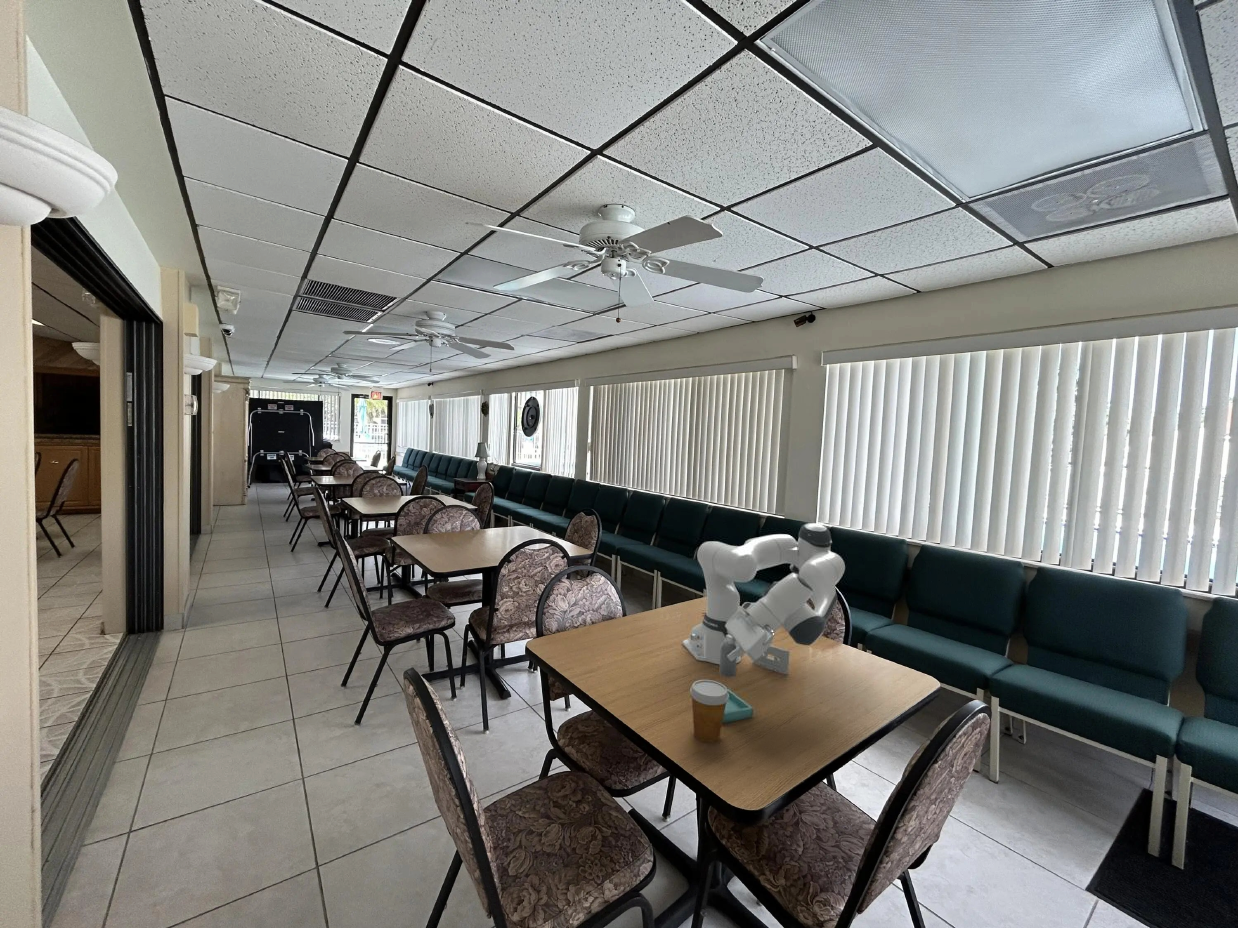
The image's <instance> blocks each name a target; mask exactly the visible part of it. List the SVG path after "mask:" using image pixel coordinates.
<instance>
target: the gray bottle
mask: <svg viewBox="0 0 1238 928" xmlns="http://www.w3.org/2000/svg"><path fill="white" fill-rule="evenodd" d="M735 649H737V648H736V646H735V644H734V643H733V637H732V636H730V635H726V642H724V643H723V644H722V646H721V651H720V664H719V672H718V673H719V674H720V675H721V676H723V677H726V678H727V677H729V678H731V677H735V676H736V675H737V663H736V660H737V657H736V658H735V659H734V660H733V661H730V660H729V659H728V657H727V656H726V654H727V653H728V652H729V651H733V650H735Z"/></svg>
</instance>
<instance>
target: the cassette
mask: <svg viewBox="0 0 1238 928" xmlns="http://www.w3.org/2000/svg"><path fill="white" fill-rule="evenodd" d="M768 655H770V656H768ZM771 656H773V657H771ZM752 664H754V665H757V666H758V667H761V668H764V669H767V670H770V671H774V672H776V673H779V674H784V675H788V674H789V666H790V651H789V650H788V649H784V648H781V647H778V646H775V645H772V644H771V645H770V646H769V647H768V649H767V650H766V651H765V652H764V653H763V654H762V655H761V656H760V657H759V658H758V659H756V660H752Z"/></svg>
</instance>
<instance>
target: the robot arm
mask: <svg viewBox="0 0 1238 928" xmlns="http://www.w3.org/2000/svg"><path fill="white" fill-rule="evenodd" d="M832 544H833V541H832V537H831V532H830V529H828V528H827V527H826V526H825V525H822V524H820V523H814V522H811V523H805V524H804V525H801V527H800V530H799V532H798V540H796V539H795V538H794V537H793V536H791V535H790V534H787V533H786V534H783V533H778V534H777V533H776V534H767V535H763V536H762V535H761V536H759V537H753V538H749V539H747V540H745V542H744V544H743V545H739V546H738V545H730V544H728V543H724V542H721V541H715V540H713V541H704V542H703V543H702V544H700V546H699V547H698V550H697V554H696V557H697V561H698V563H699V565H700V567H701V570H702V572H703V577H704V581H705V588H706V608H705V609H706V611H705V612H703V613H701V617H703V619H702V621H701V623H698V625H696V626H693V627H692V628H691V630H690V634H689V638H686V639H684V640H683V641H682V645H683V646H684V647H685V648H686V650H687V651H688V652H689V653H690V654H691V655H692V656H693V657H694V658H695V660H697V661H701V662H708V663H712V664H715V665H716V664H717V665H720V651H721V646H722V644H723V643H724V642H726V635H730V636H732V637H733V643H734V644H735V646H736V648H737V649H735V650H733V651H729V652H728V653H727V654H726V656H727V657H728V659H729V660H730V661H733V660H734V659H735V658H736V657H737V660H736V664H738V663H739V662H741V661H742V658H741V657H742V656H744V655H745V654H746V655H747V656H748V657H749V659H751V660H752V661H753V660H756V659H758V658H759V657H760V656H761V655H762V654H764V652H765V651H766V650H767V649H768V647H769V646H770V645H772V643H773V640H774V639H775V633H776V632H777V631H778V630H779V629H780V628H781V627H782V628H783V629H784V630H785V631H786V632H787V633H788V634H789V636H790V638H791V639H792V640H793V641H794V643H796V644H798V645H802V646H810V645H812V644H814V643H816V642H817V641H818V640H819V639H820V638H821V637H822V635H823V634H824V630H825V629H826V626H827V622H828V620H829V618H830V616H831V614H832V612H833V610H834V608H835V606H836V603H837V600H838V595H837V592H836V585H837V584H838V583H839V582H840V580H841V579H842V577H843V575H844V573H845V570H846V565H845V561H844V560H843V558H842V556H840V555H839V554H837V553H836V552H833V551H831V546H832ZM782 564H790V566H789V569H790V571H791V573H789V574H788V575H786V576H785V577H783V578H782V579H781V580H779V581H773V582H772V584H770V585H769V586H768V587H767V588H766V589H764V591H763V592H762V597H761V598H759V599H758V600H757V601H756V602H748V601H746V602H744V603H743V604H742V605H741V608H740V603H741V601H740V600H741V599H740V597H741V596H740V592H738V590H737V588H736V586H735V583H734V582H737V583H748V582H750V581H751V580H753V579H754V578H755V576H756V574H757V573H758V572H757V571H760V570H764V569H767V568H768V569H769V568H772V567H775V566H779V565H782ZM809 599H810V601H811V602H812V604H813V606H814V609H812V607H811V606H810V605H809V604H808V603H807V602H808V600H809Z"/></svg>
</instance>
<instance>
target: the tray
mask: <svg viewBox="0 0 1238 928" xmlns="http://www.w3.org/2000/svg"><path fill="white" fill-rule="evenodd" d="M727 692H728V694H729V698H728V700H727V702H726V706H725V711H724V717H723V722H722V724H726V723H731V722H735V721H740V720H745V719H748V718H749V719H751V718H753V716H754V707H752V706H751V705H750V704H749V703H748V702H746V701H745V700H743V699H742V698H741V697H739V695H737V694H735V693H734V692H733V691H731V690H730V689H729V688H727Z"/></svg>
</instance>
